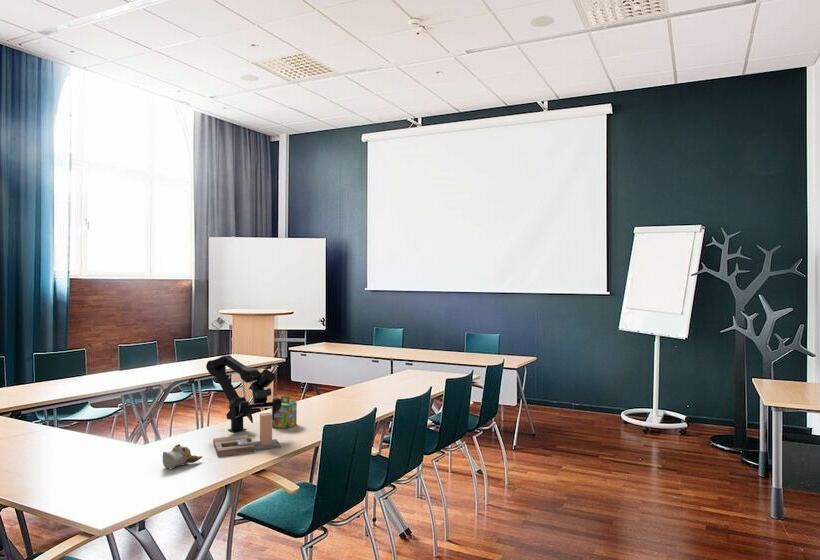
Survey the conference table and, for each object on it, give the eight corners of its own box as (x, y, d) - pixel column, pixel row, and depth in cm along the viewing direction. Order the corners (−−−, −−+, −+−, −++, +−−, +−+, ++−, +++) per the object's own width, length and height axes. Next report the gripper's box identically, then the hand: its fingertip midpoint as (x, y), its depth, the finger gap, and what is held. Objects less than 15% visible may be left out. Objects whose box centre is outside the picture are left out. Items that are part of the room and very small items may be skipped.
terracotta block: (260, 443, 255) (259, 413, 255) (270, 441, 257) (270, 412, 257) (261, 445, 251) (261, 415, 251) (272, 444, 253) (272, 414, 253)
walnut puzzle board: (213, 444, 257) (213, 438, 257) (247, 440, 263) (247, 434, 263) (217, 456, 239) (217, 450, 239) (254, 452, 245) (254, 446, 245)
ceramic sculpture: (154, 445, 225) (186, 438, 238) (153, 468, 224) (185, 460, 238) (172, 449, 220) (204, 442, 233) (171, 473, 219) (203, 464, 232)
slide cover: (236, 441, 252) (236, 437, 252) (250, 439, 255) (250, 436, 255) (238, 445, 246) (238, 442, 246) (253, 444, 248) (253, 440, 248)
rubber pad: (251, 444, 257) (251, 442, 257) (276, 441, 261) (276, 439, 261) (255, 450, 247) (255, 448, 247) (281, 447, 251) (281, 445, 251)
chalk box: (271, 427, 285) (271, 397, 285) (281, 423, 294) (280, 394, 294) (288, 429, 283) (288, 398, 283) (297, 424, 291) (297, 395, 291)
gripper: (239, 384, 262) (243, 413, 252) (280, 381, 270) (286, 409, 260) (237, 398, 269) (240, 427, 259) (277, 394, 277) (282, 422, 267)
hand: (262, 421), depth 261 cm, fingers open, 9 cm apart
